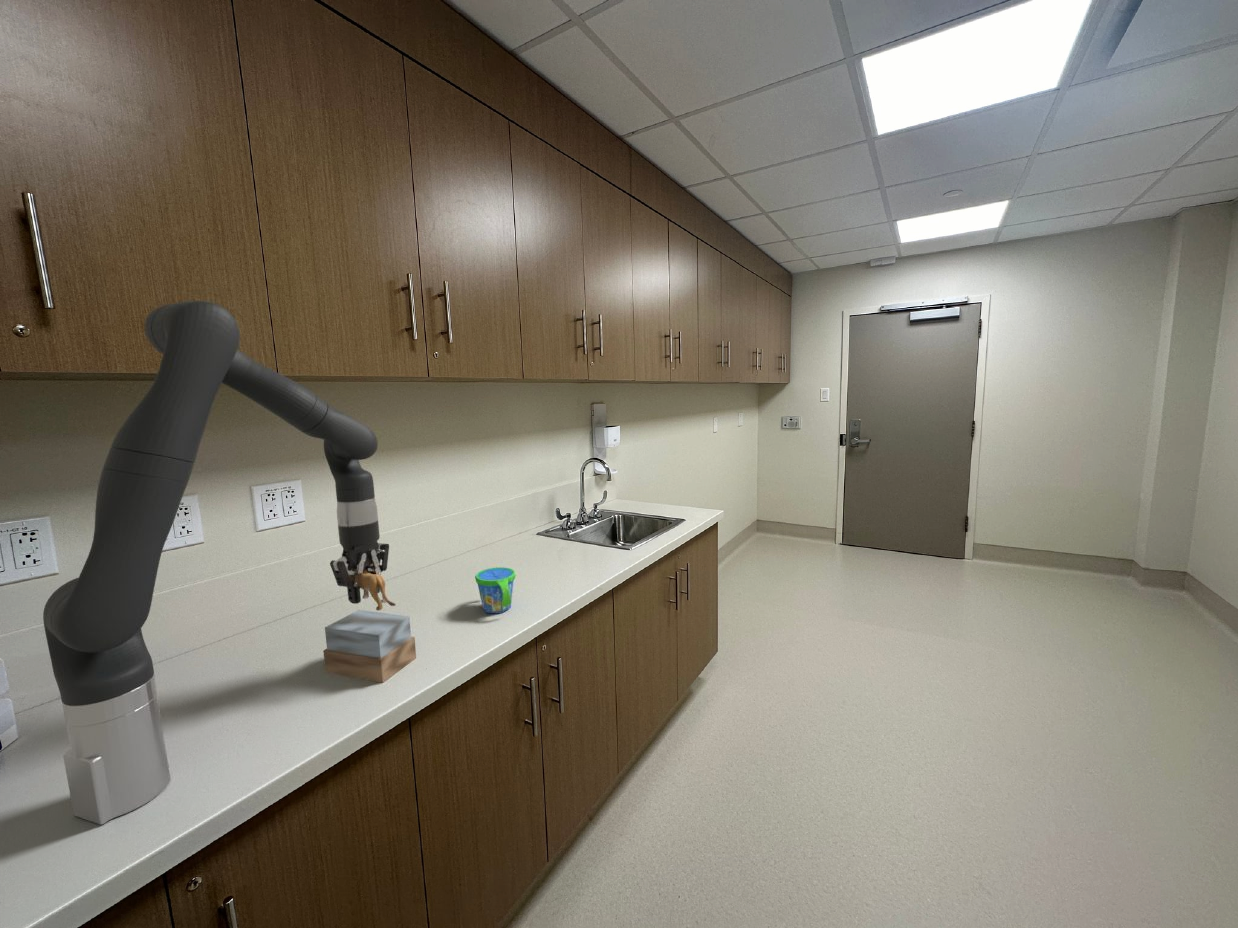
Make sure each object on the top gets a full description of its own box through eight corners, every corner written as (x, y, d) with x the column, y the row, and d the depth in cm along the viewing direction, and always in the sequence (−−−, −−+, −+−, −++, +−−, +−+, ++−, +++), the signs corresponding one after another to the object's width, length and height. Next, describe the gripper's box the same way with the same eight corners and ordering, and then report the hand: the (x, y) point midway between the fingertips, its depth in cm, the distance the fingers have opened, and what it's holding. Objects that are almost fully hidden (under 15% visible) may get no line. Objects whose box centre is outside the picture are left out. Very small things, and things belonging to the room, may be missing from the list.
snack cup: (524, 615, 131) (522, 578, 129) (484, 624, 126) (482, 586, 125) (508, 595, 144) (506, 562, 143) (472, 602, 140) (470, 568, 138)
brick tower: (383, 682, 100) (378, 636, 99) (325, 672, 104) (320, 628, 103) (416, 657, 110) (412, 615, 108) (362, 649, 114) (358, 608, 113)
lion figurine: (334, 603, 104) (330, 562, 103) (355, 594, 109) (352, 555, 108) (385, 612, 99) (382, 570, 98) (406, 602, 104) (402, 561, 103)
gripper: (344, 530, 95) (352, 613, 97) (397, 513, 109) (403, 587, 111) (314, 528, 97) (323, 609, 99) (369, 512, 111) (376, 584, 113)
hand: (365, 597), depth 105 cm, fingers closed on lion figurine, 4 cm apart
